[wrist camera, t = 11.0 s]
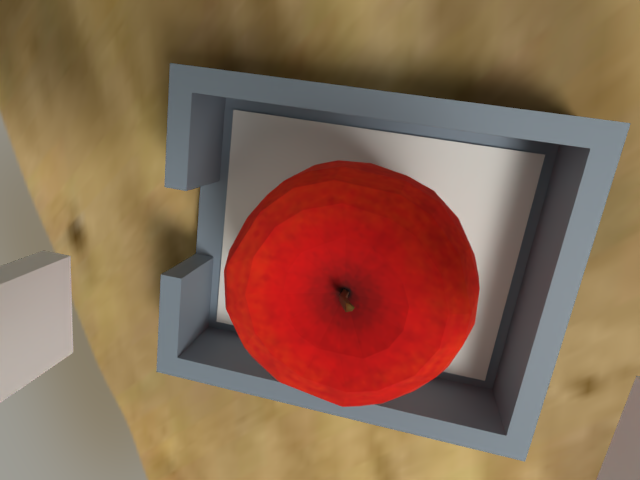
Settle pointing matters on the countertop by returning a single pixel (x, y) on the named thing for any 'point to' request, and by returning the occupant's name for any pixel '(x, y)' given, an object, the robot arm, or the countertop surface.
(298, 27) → the countertop surface
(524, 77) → the countertop surface
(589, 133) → the grey tray
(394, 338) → the apple
